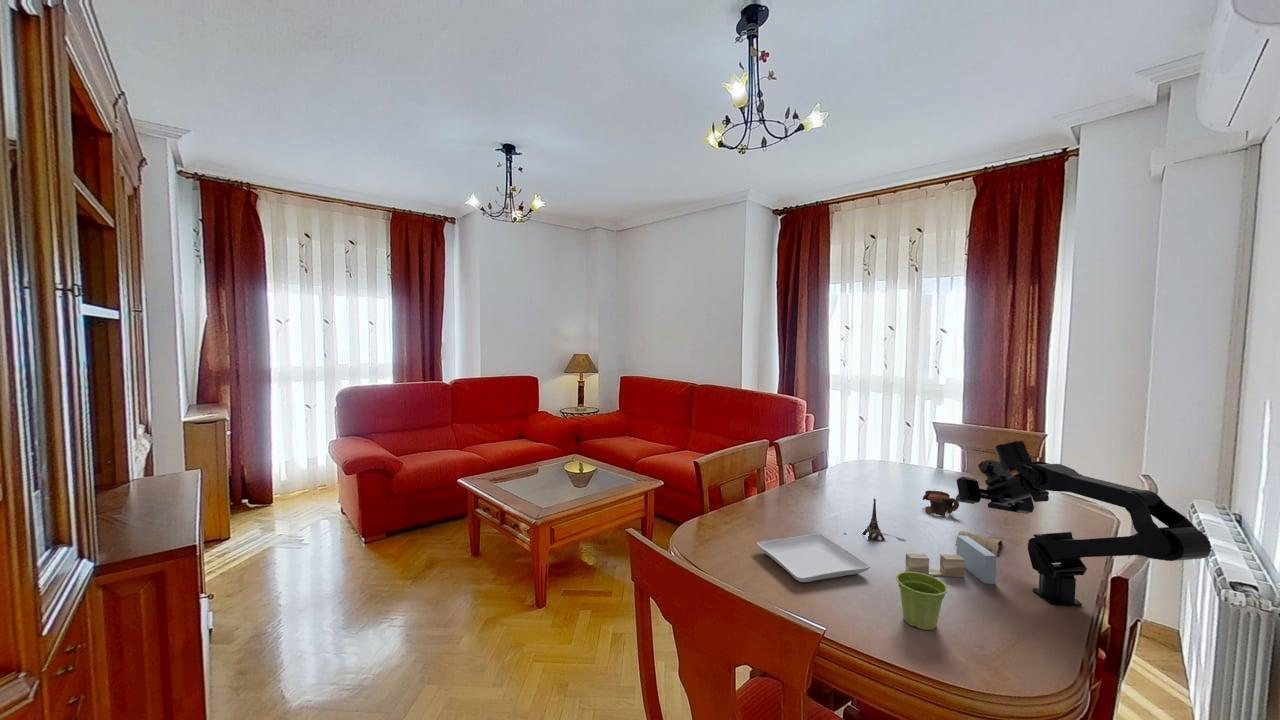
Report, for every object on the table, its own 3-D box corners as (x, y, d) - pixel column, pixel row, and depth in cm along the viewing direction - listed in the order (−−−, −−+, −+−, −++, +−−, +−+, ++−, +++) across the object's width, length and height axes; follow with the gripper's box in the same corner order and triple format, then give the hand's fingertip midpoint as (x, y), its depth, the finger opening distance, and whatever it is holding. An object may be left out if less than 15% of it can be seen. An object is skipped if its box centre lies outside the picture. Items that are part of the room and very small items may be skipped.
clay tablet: (997, 560, 132) (997, 550, 132) (953, 549, 139) (953, 540, 139) (1002, 543, 143) (1003, 534, 143) (962, 533, 150) (962, 525, 150)
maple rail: (964, 577, 122) (964, 559, 122) (910, 575, 123) (910, 557, 123) (958, 572, 125) (958, 554, 124) (905, 570, 126) (905, 553, 125)
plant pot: (927, 609, 108) (929, 571, 107) (956, 635, 98) (958, 593, 98) (886, 610, 108) (887, 571, 107) (911, 636, 98) (912, 594, 98)
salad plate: (798, 591, 116) (798, 577, 116) (754, 552, 137) (754, 540, 136) (872, 579, 122) (873, 565, 122) (820, 544, 142) (820, 532, 142)
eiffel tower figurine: (908, 542, 144) (909, 497, 143) (894, 552, 137) (895, 505, 137) (857, 527, 155) (859, 485, 154) (842, 535, 149) (843, 492, 148)
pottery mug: (915, 512, 168) (916, 488, 171) (931, 520, 172) (932, 497, 175) (952, 514, 158) (952, 489, 161) (968, 522, 162) (968, 497, 165)
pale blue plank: (995, 584, 119) (996, 556, 119) (984, 583, 119) (985, 555, 119) (966, 561, 131) (967, 535, 130) (956, 560, 131) (957, 535, 131)
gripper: (1043, 464, 126) (998, 480, 140) (974, 450, 126) (935, 468, 139) (1055, 507, 121) (1007, 520, 134) (983, 492, 120) (941, 507, 134)
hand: (972, 502), depth 136 cm, fingers open, 9 cm apart
